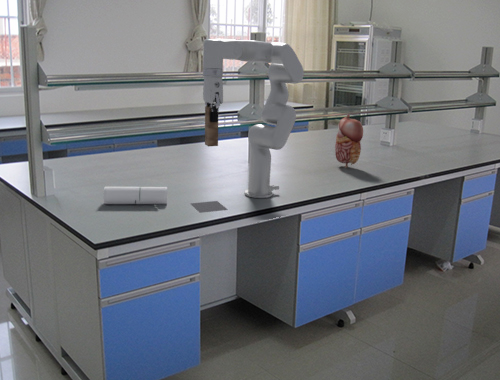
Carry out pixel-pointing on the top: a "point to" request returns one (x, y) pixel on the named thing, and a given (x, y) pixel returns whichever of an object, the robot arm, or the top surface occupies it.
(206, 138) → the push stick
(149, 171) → the top surface
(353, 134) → the anatomical model
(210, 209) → the mat
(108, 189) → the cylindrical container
